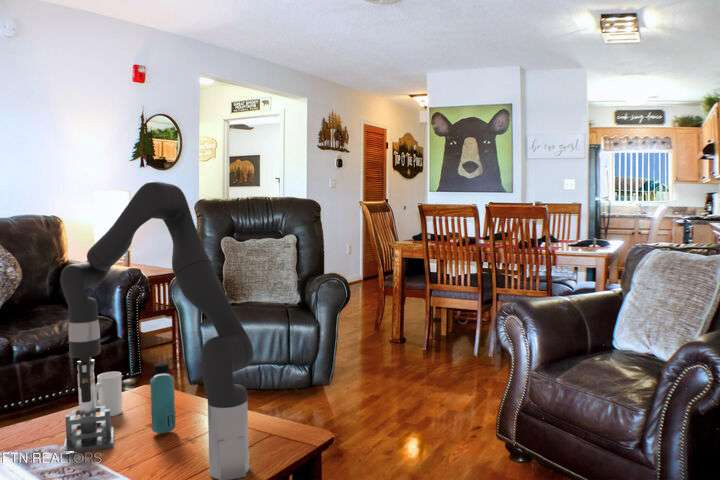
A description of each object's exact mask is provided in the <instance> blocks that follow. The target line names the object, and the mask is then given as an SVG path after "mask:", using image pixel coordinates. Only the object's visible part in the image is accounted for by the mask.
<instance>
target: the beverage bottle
mask: <svg viewBox="0 0 720 480" xmlns="http://www.w3.org/2000/svg"><path fill="white" fill-rule="evenodd" d="M169 371H170V365H169V363H168V362H163V361H162V362H157V363H155V364H153V373H155V375H154V376H153V377H151V379H150V380H149V384H150V413H151V414H150V415H151V427H150V428H151V429H152V432H153V433H157V434H164V433H165V434H166V433H169V432H172V431H174V430H175V429H176V421H177V419H176V416H177V414H176V408H175V407H176V405H175V385H174V376H172V375H171V374H170V373H168V372H169Z"/></svg>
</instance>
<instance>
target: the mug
mask: <svg viewBox="0 0 720 480" xmlns="http://www.w3.org/2000/svg"><path fill="white" fill-rule="evenodd" d="M96 378H97V383H95V400H96V407H98V406H106V409H110V417H115V416H118V415H120V414H121V413H122V412H123V409H122V408H123V401H122V399H123V397H122V396H123V395H122V394H123V393H122V392H123V391H122V388H123V387H122V385H123V384H122V372H120V371H107V372H102V373H100V374H98V375H97V377H96Z"/></svg>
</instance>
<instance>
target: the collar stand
mask: <svg viewBox="0 0 720 480" xmlns="http://www.w3.org/2000/svg"><path fill="white" fill-rule="evenodd" d="M96 413H99V414H96V416H89V417H81V418H80V417H77V416H78V415H79V416H80V410H79V408H78V409H77V408H76V409H75V408H74V409H72V410H71V413H68V414H65V417H64V418H65V434H66V435H65V438H64V442H63V447H62V451H74V452H77V453H76V454H78V453H79V454H80V453H86V452H92V451H98V450H104V449H105V450H106V449H111V448H114V438H115V437H114V435H115V432H114V426H112V425H111V424H112V423H111V416H110V409H106V406H98V407H96ZM96 421H97V431H93V432H86V433H81V428H80V424H82V423H89V422H96ZM79 430H80V431H79ZM93 437H97V438H96V439H94V440H91V441H82V440H81V439H87V438H93ZM62 451H61V452H62Z"/></svg>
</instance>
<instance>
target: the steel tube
mask: <svg viewBox="0 0 720 480" xmlns="http://www.w3.org/2000/svg"><path fill="white" fill-rule="evenodd" d="M95 379H96V377H95V370H94V371H93V379H92V380H91V401H90V402H85V403H83V402H82V396H81V388H80V387H79V385H80V381H79V379H78V378H77V386H78V387H77V391H78V409H79V410H80V415H79V418H81V417H89V416H96V415H97V412H96V400H95V384H96V382H95V381H96V380H95ZM83 383H88V380H84V381H83ZM80 428H81V430H80V431H81V433H86V432H93V431H97V429H98V427H97V421H96V422H89V423H82V424H80ZM96 438H97V437H93V438H87V439H81V440H82V441H91V440H94V439H96Z"/></svg>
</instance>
